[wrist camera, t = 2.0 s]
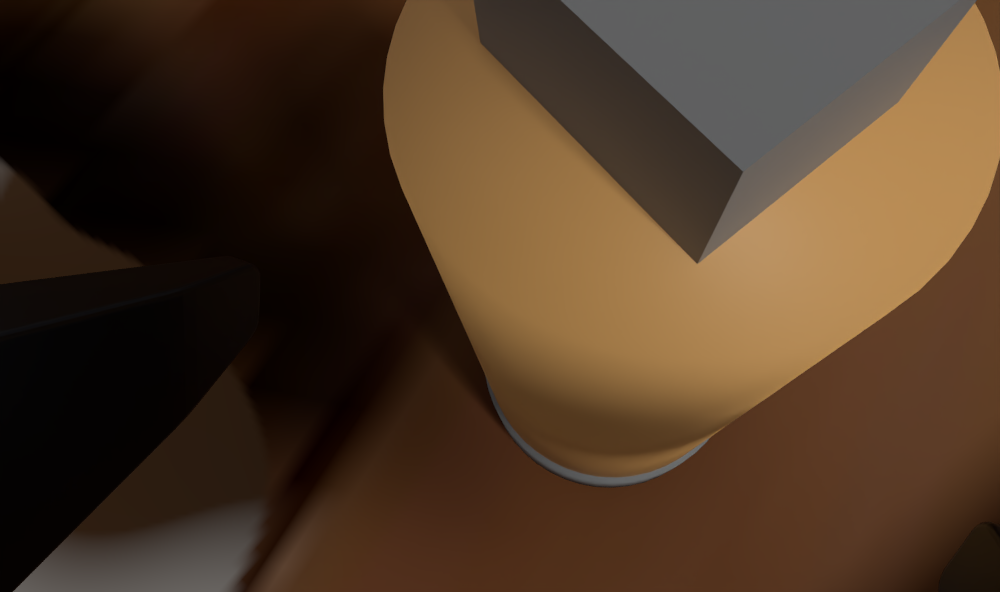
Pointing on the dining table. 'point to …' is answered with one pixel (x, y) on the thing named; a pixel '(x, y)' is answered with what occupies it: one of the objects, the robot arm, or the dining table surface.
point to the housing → (681, 197)
